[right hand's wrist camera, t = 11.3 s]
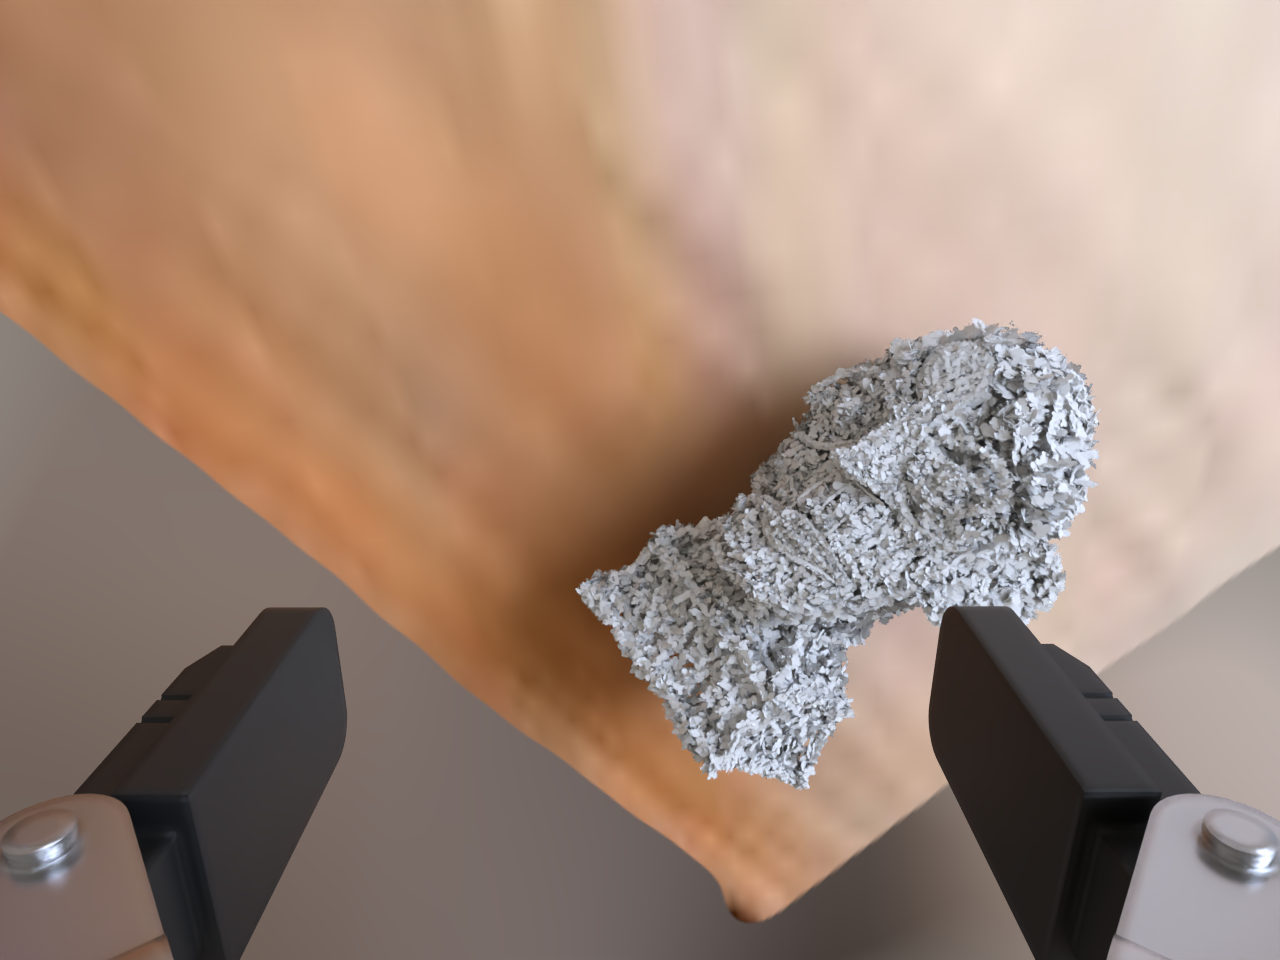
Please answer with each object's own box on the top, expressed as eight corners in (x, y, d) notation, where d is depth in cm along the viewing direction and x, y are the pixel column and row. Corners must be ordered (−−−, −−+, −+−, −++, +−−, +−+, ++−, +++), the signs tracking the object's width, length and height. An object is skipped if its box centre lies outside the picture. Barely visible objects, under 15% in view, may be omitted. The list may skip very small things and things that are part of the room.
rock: (848, 825, 52) (1227, 484, 44) (705, 878, 38) (1212, 403, 31) (688, 615, 61) (978, 301, 53) (528, 600, 48) (884, 177, 40)
